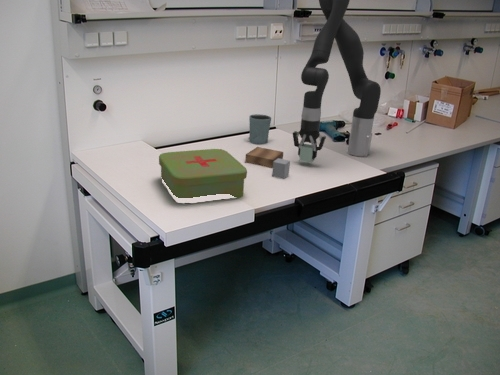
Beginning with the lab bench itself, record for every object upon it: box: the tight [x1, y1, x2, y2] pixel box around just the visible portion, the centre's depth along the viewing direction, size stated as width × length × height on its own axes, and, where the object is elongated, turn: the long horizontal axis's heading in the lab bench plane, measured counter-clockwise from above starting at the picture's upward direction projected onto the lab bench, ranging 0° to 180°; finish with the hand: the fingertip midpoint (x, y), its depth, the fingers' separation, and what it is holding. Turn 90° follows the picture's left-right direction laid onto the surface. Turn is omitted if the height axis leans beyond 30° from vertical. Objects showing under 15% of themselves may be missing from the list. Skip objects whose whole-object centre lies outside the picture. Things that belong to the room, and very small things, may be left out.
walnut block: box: [245, 146, 284, 169], centre depth 205 cm, size 12×12×4 cm
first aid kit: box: [158, 148, 248, 199], centre depth 173 cm, size 26×26×10 cm
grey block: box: [271, 158, 291, 180], centre depth 190 cm, size 5×5×6 cm
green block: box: [298, 143, 314, 163], centre depth 203 cm, size 5×5×6 cm
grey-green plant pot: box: [248, 113, 272, 145], centre depth 228 cm, size 10×10×12 cm
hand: (307, 157), depth 203 cm, fingers closed on green block, 5 cm apart
